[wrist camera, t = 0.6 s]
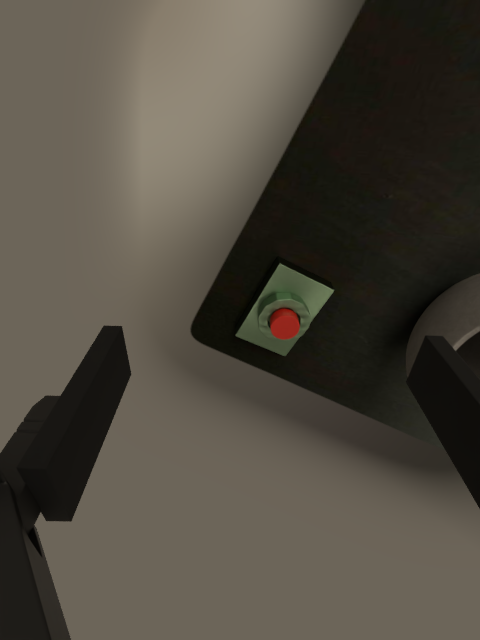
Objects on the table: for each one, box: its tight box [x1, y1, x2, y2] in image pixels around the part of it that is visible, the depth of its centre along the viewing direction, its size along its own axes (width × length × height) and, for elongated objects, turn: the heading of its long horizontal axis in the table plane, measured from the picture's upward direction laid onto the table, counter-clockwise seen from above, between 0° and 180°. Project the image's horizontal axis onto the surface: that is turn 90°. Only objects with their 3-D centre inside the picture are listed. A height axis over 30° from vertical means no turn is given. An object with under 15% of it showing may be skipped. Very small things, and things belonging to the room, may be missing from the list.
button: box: [270, 309, 300, 340], centre depth 42 cm, size 4×4×2 cm
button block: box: [235, 257, 335, 356], centre depth 44 cm, size 12×8×4 cm, turn 153°
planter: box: [406, 274, 480, 379], centre depth 37 cm, size 18×7×19 cm, turn 153°
